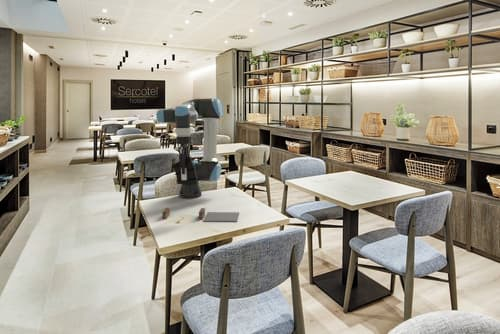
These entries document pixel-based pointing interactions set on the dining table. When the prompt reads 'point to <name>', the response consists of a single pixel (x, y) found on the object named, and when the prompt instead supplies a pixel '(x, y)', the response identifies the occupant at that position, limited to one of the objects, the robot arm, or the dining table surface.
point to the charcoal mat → (221, 217)
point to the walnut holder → (167, 213)
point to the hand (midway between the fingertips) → (185, 178)
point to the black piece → (190, 172)
